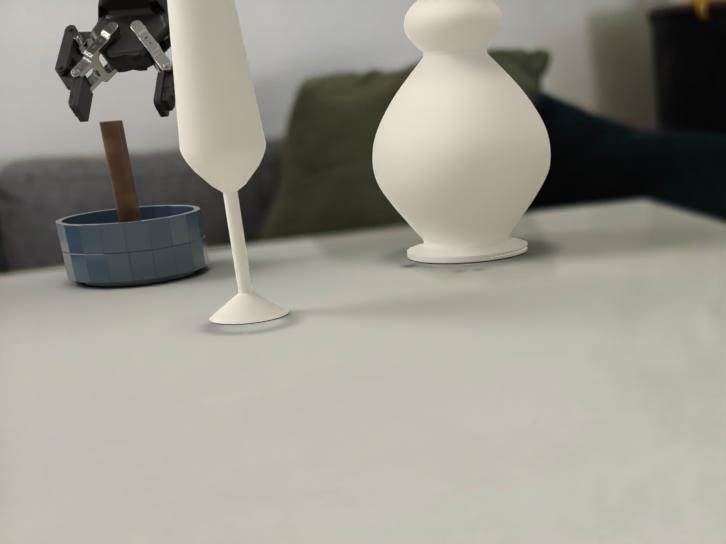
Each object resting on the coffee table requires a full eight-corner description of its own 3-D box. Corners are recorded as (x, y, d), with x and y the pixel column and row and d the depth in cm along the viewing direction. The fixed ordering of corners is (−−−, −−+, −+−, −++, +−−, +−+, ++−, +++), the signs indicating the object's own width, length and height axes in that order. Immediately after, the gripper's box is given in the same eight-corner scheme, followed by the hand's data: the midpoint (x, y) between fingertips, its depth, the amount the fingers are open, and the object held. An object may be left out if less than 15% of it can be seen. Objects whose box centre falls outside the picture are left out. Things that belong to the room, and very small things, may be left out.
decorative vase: (585, 251, 113) (581, -39, 101) (423, 275, 106) (398, -32, 95) (504, 233, 127) (492, -23, 116) (357, 253, 121) (328, -16, 109)
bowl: (51, 293, 110) (36, 228, 108) (90, 268, 123) (78, 210, 120) (195, 283, 110) (184, 218, 108) (220, 259, 123) (210, 201, 120)
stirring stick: (111, 274, 114) (80, 124, 108) (122, 267, 118) (93, 121, 112) (156, 271, 114) (128, 120, 108) (166, 264, 118) (139, 118, 112)
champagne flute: (198, 325, 92) (139, -14, 81) (221, 308, 98) (168, -10, 87) (279, 322, 91) (230, -20, 80) (296, 304, 97) (254, -16, 86)
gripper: (59, -41, 114) (33, 89, 109) (193, -53, 112) (173, 80, 107) (93, 19, 121) (70, 144, 116) (220, 9, 119) (202, 136, 114)
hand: (120, 113), depth 112 cm, fingers open, 8 cm apart
